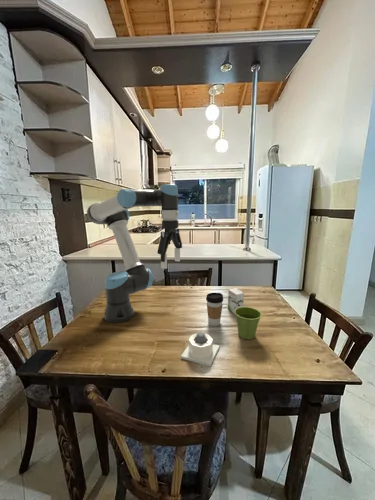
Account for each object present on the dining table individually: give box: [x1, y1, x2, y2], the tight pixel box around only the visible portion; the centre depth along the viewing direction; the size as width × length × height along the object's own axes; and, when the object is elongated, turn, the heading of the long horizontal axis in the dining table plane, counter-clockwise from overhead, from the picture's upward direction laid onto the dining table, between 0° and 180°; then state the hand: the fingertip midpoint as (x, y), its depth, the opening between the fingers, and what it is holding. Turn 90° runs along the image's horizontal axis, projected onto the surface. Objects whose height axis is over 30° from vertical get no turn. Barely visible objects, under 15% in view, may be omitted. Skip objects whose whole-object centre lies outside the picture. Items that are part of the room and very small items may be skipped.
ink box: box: [227, 287, 245, 315], centre depth 128 cm, size 9×5×12 cm, turn 23°
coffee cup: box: [205, 292, 224, 327], centre depth 115 cm, size 8×8×15 cm
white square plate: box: [180, 332, 220, 367], centre depth 92 cm, size 12×12×8 cm
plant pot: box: [234, 306, 263, 340], centre depth 104 cm, size 12×12×11 cm
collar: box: [188, 333, 214, 359], centre depth 92 cm, size 9×9×5 cm
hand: (171, 264), depth 109 cm, fingers open, 13 cm apart
